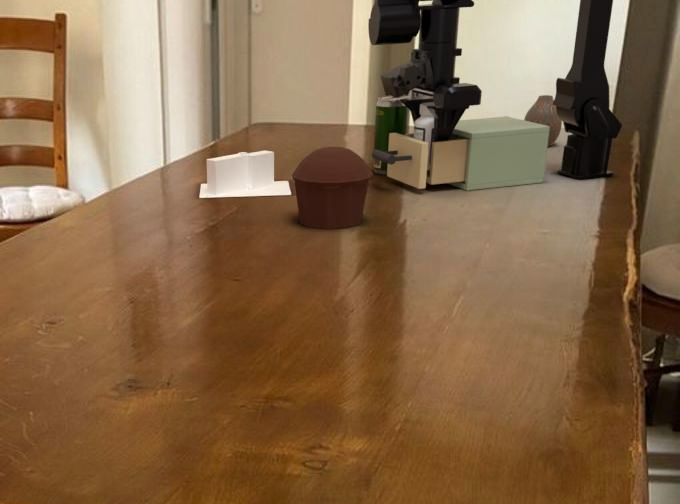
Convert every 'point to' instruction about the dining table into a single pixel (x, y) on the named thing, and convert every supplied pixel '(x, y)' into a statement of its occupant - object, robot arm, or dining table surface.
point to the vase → (545, 116)
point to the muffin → (331, 188)
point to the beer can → (388, 126)
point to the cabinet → (503, 152)
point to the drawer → (425, 160)
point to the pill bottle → (425, 128)
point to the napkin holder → (243, 176)
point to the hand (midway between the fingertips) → (430, 148)
